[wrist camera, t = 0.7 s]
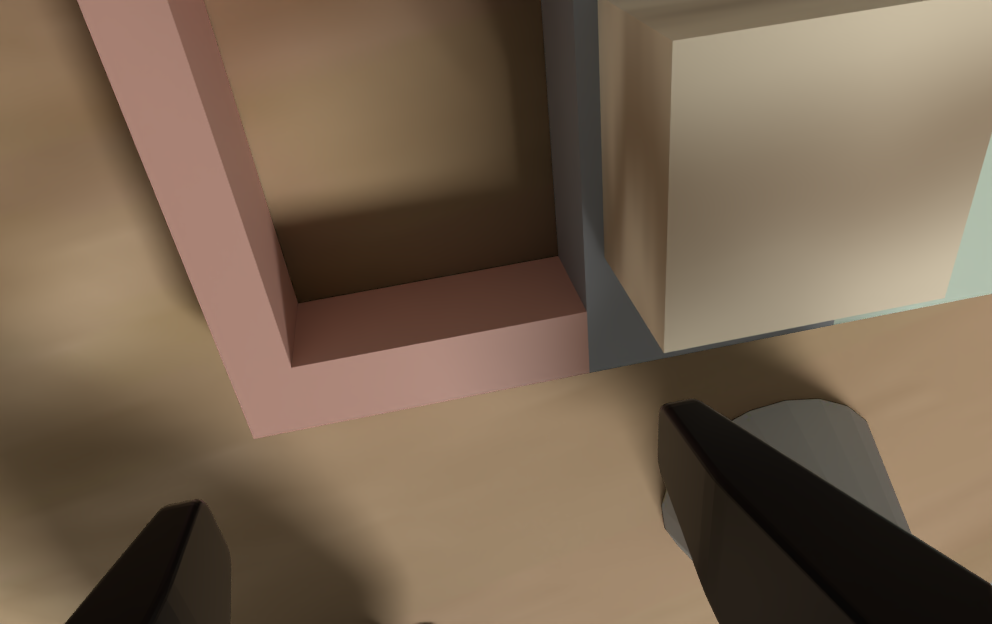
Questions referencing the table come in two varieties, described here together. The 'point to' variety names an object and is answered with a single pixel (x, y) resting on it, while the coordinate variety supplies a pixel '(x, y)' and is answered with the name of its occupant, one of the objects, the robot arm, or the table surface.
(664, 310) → the block
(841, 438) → the lava lamp
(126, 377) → the table surface
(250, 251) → the pink rimmed tray
